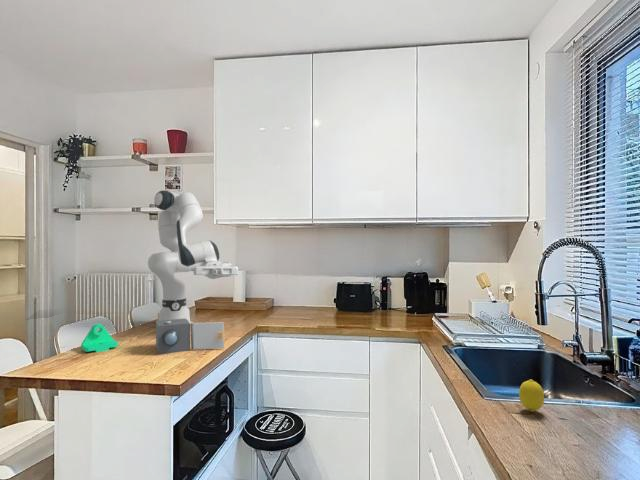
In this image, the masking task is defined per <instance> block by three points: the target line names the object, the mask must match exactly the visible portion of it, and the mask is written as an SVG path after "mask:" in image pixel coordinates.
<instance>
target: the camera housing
mask: <svg viewBox="0 0 640 480" xmlns="http://www.w3.org/2000/svg"><path fill="white" fill-rule="evenodd" d="M155 325H156V327H155V350H156V352H157V355H164V354H172V353H180V352H181V353H182V352H191V325H190V323H189V321H188V320H187V319H186V318H184V319H173V320H162V321H158V320H155Z"/></svg>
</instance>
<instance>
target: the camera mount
mask: <svg viewBox="0 0 640 480" xmlns="http://www.w3.org/2000/svg"><path fill="white" fill-rule="evenodd" d="M98 328H99V330H98ZM118 346H119V342H118V341H117V340H115V339H114V338H113V337H112V336H111V334H110V333H109V332H108V330H107V328H106V327H105V325H103V324H101V323H95V324H93V325H92V327H91V328H90V330H89V331H88V333H87V334H86V336H85V337H84V339H83V340H82V342H81V345H80V349H81V350H83V351H84V352H86V353H87V352H95V353H101V352H107V351H110V348H116V347H118Z"/></svg>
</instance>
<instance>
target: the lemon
mask: <svg viewBox="0 0 640 480" xmlns="http://www.w3.org/2000/svg"><path fill="white" fill-rule="evenodd" d="M518 395H519V396H518V398H519V401H520V403H521V404H522V406H523V407H524V408H525V409H527V410H528V411H529V412H531V413H533V412H535V411H538V410H540V409H541V408H542V407H543V405H544V403H545V394H544V390H543V388H542V386H541V385H540V384H539V383H538V382H537V381H534V380H533V379H528V380H526V381H523V382H522V383H521V385H520V387H519V391H518Z"/></svg>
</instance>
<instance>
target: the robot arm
mask: <svg viewBox="0 0 640 480" xmlns="http://www.w3.org/2000/svg"><path fill="white" fill-rule="evenodd" d="M154 205H155V207H156V208H157V209H158V210H161V211H160V213H159V214H158V217H157V219H158V220H157V221H158V222H157V226H158V227H157V228H158V235H159V236H158V238H159V243H160V245H161V246H163V247H164V248H165V249H168V250H169V251H167V252H166V251H163V252H156V253H152V254H151V255H150V256H149V257H148V260H147V266H148V269H149V270H150V272H151V273H153V274H155V276H156V277H158V279H159V280H160V283H161V286H162V299H161V300H162V301H161V309H160V310H159V312H158V314H157V318H158V320H157V321H162V320H173V319H184V318H186V319H187V320H188V321H189V323H190V326H191V323H194V322H193V321H191V319H190V309H189V308H188V307H187V298H186V285H185V283H184V281H182V280H181V279H178V278H176V277H175V273H176V274H177V273H188V272H193V275H194V276H203V277H204V276H205V277H206V278H207V279H211V280H216V279H219V278H225V277H231V276H237V275H239V267H238V266H237V265H234V264H232V263H231V262H223V261H219V260H220V252H219V249H218V246H217V245H216V244H215V242H213V241H212V240H205V241H200V242H198V243H197V242H196V243H192V244H188V243H187V238H186V235H187V233H188V232H189V231H191V230H193V229H195V228H196V227H198V226H199V225H200V224H201V222H202V221H203V219H204V214H203V210H202V208H201V205H200V203H199V201H198V199H197V197H196V196H195V195H194V194H193V193H192V192H189V191H185V192H181V193H180V192H175V191H169V190H160V191H158V192H157V193H156V194H155V196H154ZM199 263H200V264H199ZM154 328H156V324H155V327H154Z"/></svg>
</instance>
